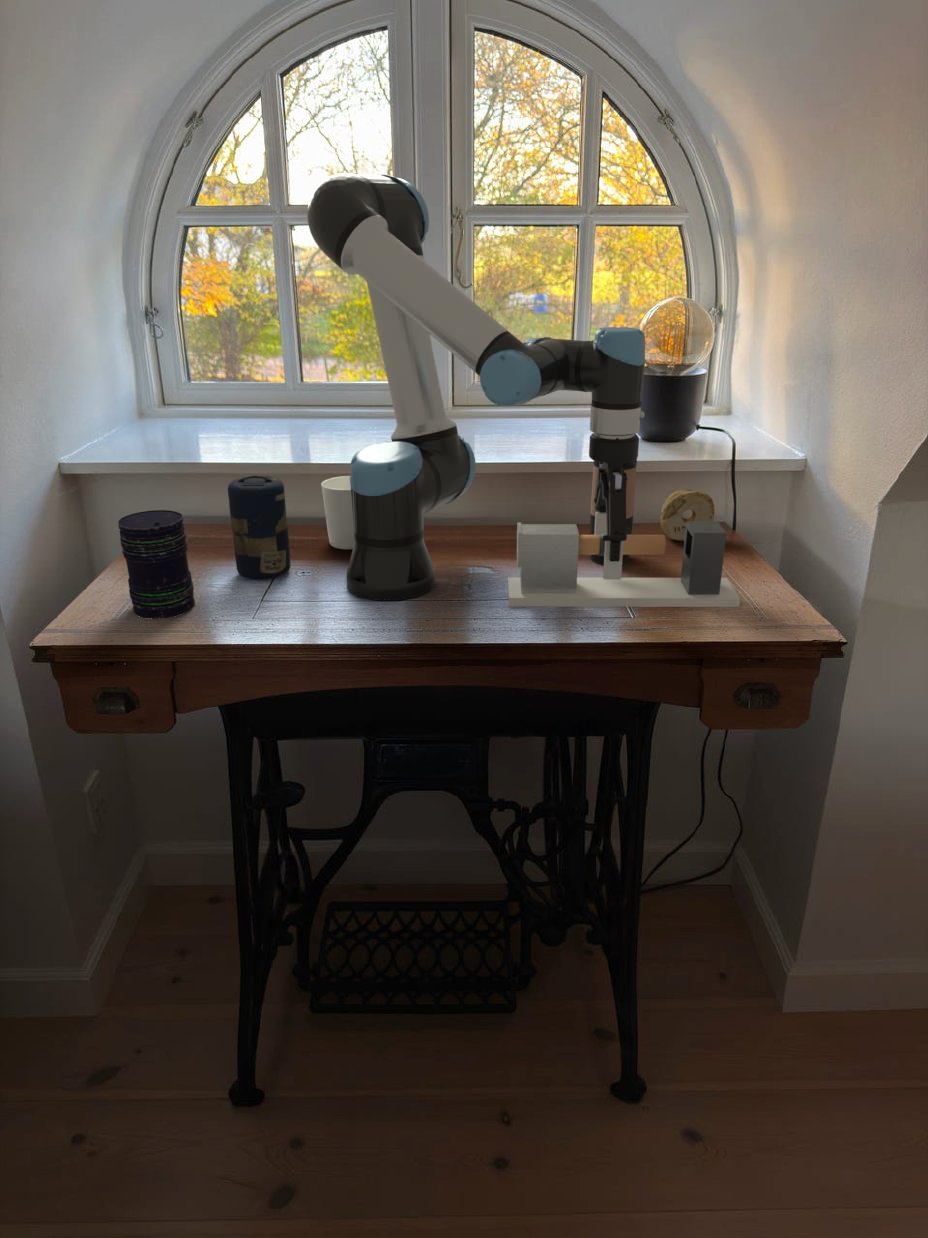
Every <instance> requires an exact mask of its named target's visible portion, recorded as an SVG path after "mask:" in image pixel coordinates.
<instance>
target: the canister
mask: <svg viewBox="0 0 928 1238" xmlns="http://www.w3.org/2000/svg"><path fill="white" fill-rule="evenodd" d="M227 494H228V506H229V507H228V508H229V515H230V516H229V517H230V524H231V525H230V526H231V531H232V539H233V549H234V550H233V551H234V556H235V567H236V571H237V573H238V574H239V575H240V576H241V577H242V578H244V579H248V580H253V581H267V580H273V579H277V578H280V577H282V576H284V575H286V574H288V572H289V571H290V570H291V568H292V567H291V565H292V563H291V555H290V540H289V539H290V537H289V527H288V518H287V508H286V507H287V506H286V494H285V485H284V482H283V481H282V480H281V479H280V478H277V477H275V476H270V475H258V474H257V475H256V474H254V475H253V474H252V475H248V476H244V477H239V478H236V479H233V480H232V481H231V482H230V483H229V484H228V486H227Z"/></svg>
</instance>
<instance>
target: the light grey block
mask: <svg viewBox="0 0 928 1238" xmlns="http://www.w3.org/2000/svg"><path fill="white" fill-rule="evenodd" d="M516 525H517V527H516V564H517V568H519V578H520V589H521V593H534V594H576V590H577V578H578V569H579V568H578V565H579V564H578V562H579V555H578V547H579V535H580V533H579V529H578V527H577V524H576V523H573V524H571V523H569V524H568V523H567V524H565V523H564V524H563V523H559V524H558V523H554V524H553V523H551V524H550V523H549V524H548V523H547V524H545V523H544V524H543V523H541V524H539V523H538V524H537V523H534V524H532V523H529V524H528V523H525V524H523V523H522V522H517V523H516Z"/></svg>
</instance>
